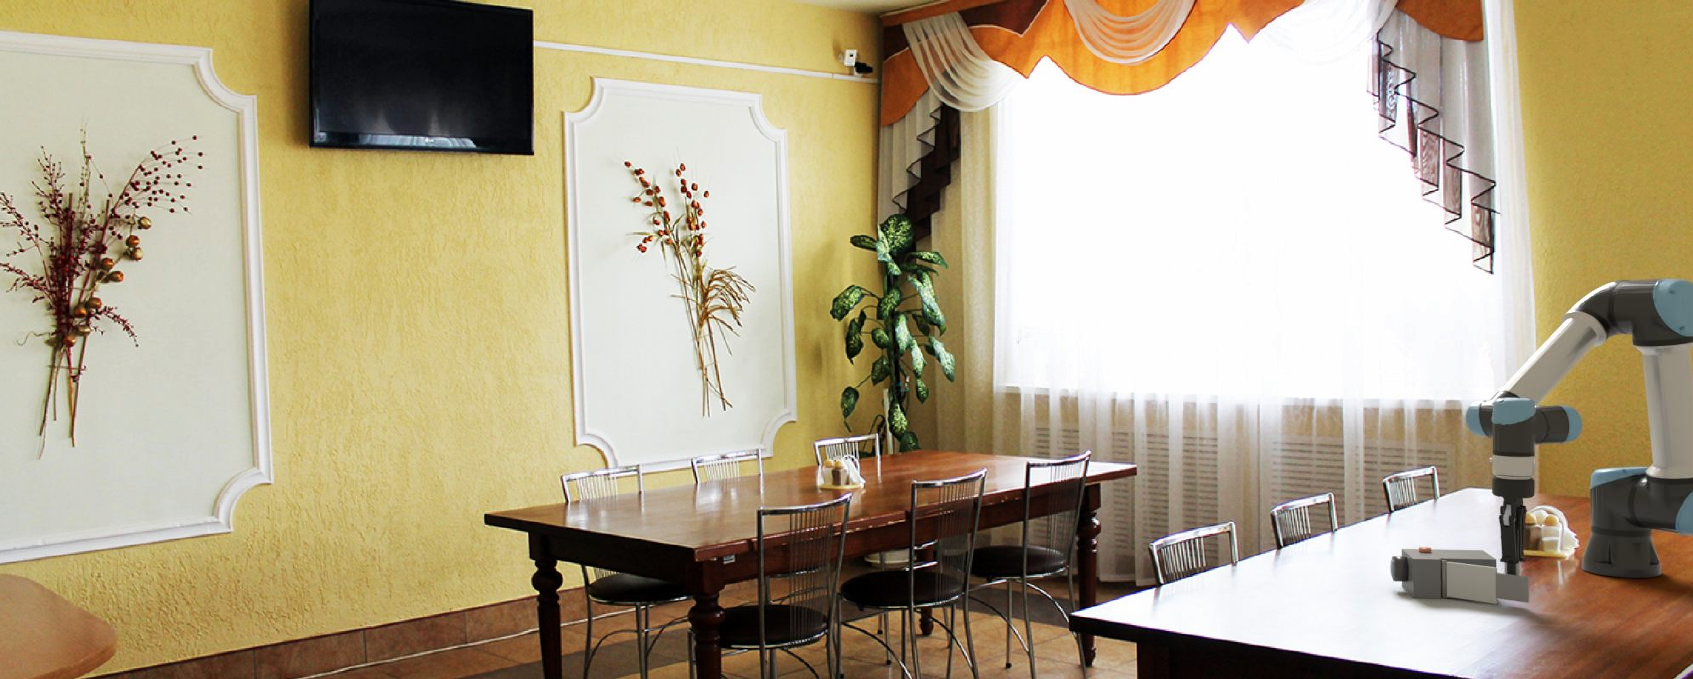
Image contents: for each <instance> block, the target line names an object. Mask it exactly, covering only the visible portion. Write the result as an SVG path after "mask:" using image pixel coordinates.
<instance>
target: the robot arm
mask: <svg viewBox="0 0 1693 679" xmlns="http://www.w3.org/2000/svg"><path fill="white" fill-rule="evenodd" d="M1619 335H1631V338H1632V339H1631V341H1632V346H1633V347H1634V348H1635V349H1637V350H1638V351H1639V352H1640V353H1641V356H1642V364H1643V366H1642V367H1643V376H1644V384H1645V396H1646V404H1647V417H1648V425H1649V437H1650V446H1651V454H1652V455H1651V456H1652V464H1651V465H1650V466H1629V467H1628V466H1626V467H1611V468H1610V467H1609V468H1599V469H1596V470H1594V471H1593V472H1592V473H1591V476H1590V477H1591V478H1590V487H1589V490H1590V492H1589V493H1590V537H1589V539H1588V541H1587V544H1586V547H1585V550H1584V552H1583V555H1582V558H1581V569H1582V570H1583V571H1585V572H1587V573H1591V574H1596V575H1600V576H1608V577H1617V578H1627V579H1629V578H1631V579H1634V578H1635V579H1645V578H1655V577H1659V576H1661V575H1662V563H1661V561H1660V558H1659V555H1658V553H1657V552H1658V551H1657V548H1656V546H1655V544H1654V541H1653V538H1652V537H1653V536H1652V534H1653V532H1652V531H1653V530H1654V531H1659V532H1665V533H1666V532H1667V533H1673V534H1679V535H1681V536H1693V368H1692V367H1693V366H1692V357H1691V349H1692V348H1693V282H1692V281H1689V280H1687V279H1678V278H1677V279H1675V278H1668V277H1667V278H1654V279H1653V278H1647V279H1646V278H1645V279H1631V280H1630V279H1620V280H1615V281H1611V282H1609V283H1608V282H1607V283H1605V284H1604V285H1601V286H1600V287H1598V288H1596V289H1594V290H1592V291H1590V292H1589V293H1588V294H1586V295H1585V296H1584V297H1581V299H1580V300H1578V301H1577V302H1575V304H1574V305H1572V306H1571V308H1570V309H1568V310H1567V312H1565V313H1564V315H1563V316H1562V318H1561V325H1560V326H1559V327H1558V328H1557V329H1556V330H1555V331H1554V332H1553V333H1552V334H1551V336H1549V337H1548V339H1546V341H1544V343H1543V344H1542V345H1541V346H1540V347H1539V348H1538V349H1537V350H1536V351H1535V352H1534V353H1533V354H1532V356H1530V358H1529V359H1528V360H1526V361H1525V363H1524V364H1523V365H1521V367H1520V368H1519V369H1518V370H1517V371H1516V372H1515V373H1514V374H1513V375H1512V376H1511V377H1510V378H1509V379H1508V380H1507V382H1506V383H1504V385H1502V387H1501V388H1500V389H1499V390H1498V391H1497V392H1496V394H1494V395H1493V396H1492V397H1491V398H1490V399H1489V400H1486V399H1485V400H1477V401H1475V402H1474V401H1473V403H1471V404H1470V405H1469V406H1468V407H1467V409H1466V412H1465V419H1464V420H1465V424H1466V426H1467V429H1468V430H1469V431H1470V432H1471V434H1473V435H1475V436H1479V437H1484V438H1488V439H1492V451H1491V452H1492V457H1490V458H1489V463H1490V464H1492V467H1491V468H1492V470H1491V471H1492V472H1491V473H1493V474H1494V476H1493V477H1492V478H1491V479H1492V480H1491V493H1492V495H1493V496H1495V497H1500V498H1503V501H1502V505H1500V507H1499V514H1500V515H1499V516H1498V520H1499V526H1500V529H1499V530H1500V542H1501V543H1500V545H1501V558H1500V559H1499V562H1501V563H1504V574H1512V575H1520V576H1522V563H1523V562H1524V563H1526V558H1525V557H1524V555H1525V551H1524V550H1525V534H1526V533H1525V531H1526V518H1527V513H1528V509H1527V506H1526V505H1524V499H1531V498H1533V497H1534V496H1535V494H1536V493H1535V486H1536V485H1535V482H1536V481H1535V479H1534V476H1535V475H1536V454H1535V453H1536V452H1535V449H1536V446H1537V445H1550V444H1551V445H1552V444H1553V445H1554V444H1559V445H1561V444H1565V443H1570V442H1573V441H1575V440H1577V439H1578V438H1579V437H1580V435H1581V433H1582V431H1583V419H1582V416H1581V413H1579V412H1578V410H1576V409H1575V408H1574V407H1572V406H1569V405H1560V404H1554V405H1539V404H1540V403H1542V401H1543V400H1544V399H1545V398H1546V397H1547V396H1548V395H1549V394H1550V393H1551V392H1552V390H1554V389H1555V387H1557V385H1558V384H1559V383H1561V381H1562V380H1563V379H1564V378H1565V377H1566V376H1567V375H1568V373H1570V371H1572V369H1574V367H1575V366H1576V365H1577V364H1578V363H1579V362H1580V361H1581V360H1582V359H1583V358H1584V357H1585V355H1587V354H1588V353H1589V351H1590V350H1591V349H1592V348H1594V347H1595V348H1596V347H1600V346H1602V345H1603V344H1604V343H1605V342H1606V341H1607V339H1610V338H1612V337H1615V336H1619Z"/></svg>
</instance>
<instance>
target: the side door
mask: <svg viewBox="0 0 1693 679" xmlns="http://www.w3.org/2000/svg"><path fill="white" fill-rule="evenodd" d="M1447 597H1453V598H1452V599H1454V598H1455V599H1462V600H1469V601H1476V602H1483V603H1488V604H1489V603H1490V604H1497V603H1498V600H1507V601H1513V602H1519V603H1527V604H1528V603H1530V576H1527V575H1526V576H1525V575H1521V576H1520V575H1512V574H1505V572H1504V573H1503V572H1502V573H1501V572H1498V567H1497V566H1496V567H1488V566H1480V565H1471V564H1463V563H1455V562H1447V560H1442V597H1441V599H1442V598H1443V599H1447Z"/></svg>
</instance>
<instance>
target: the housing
mask: <svg viewBox="0 0 1693 679" xmlns="http://www.w3.org/2000/svg"><path fill="white" fill-rule="evenodd" d="M1442 560H1447V562H1455V563H1463V564H1471V565H1480V566H1488V567H1496V568H1497V558H1496V557H1493V556H1492V555H1490V554H1488V552H1486V551H1484V550H1483V549H1482V550H1481V549H1480V550H1479V549H1477V550H1476V549H1435V548H1432V547H1428V546H1420V547H1418V548H1401V556H1398V555H1396V556H1395V555H1392V557H1391V560H1390V563H1389V564H1390V566H1389V567H1390V575H1391V577H1392V580H1393V582H1399V583H1400V582H1401V587H1402V588H1403V589H1404V590H1405V591H1406V592H1407V593H1408V594H1409V595H1410V596H1411V597H1412V598H1413V599H1442ZM1447 598H1449V599H1450V598H1452V599H1454V598H1453V597H1447ZM1447 598H1446V599H1447Z"/></svg>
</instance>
